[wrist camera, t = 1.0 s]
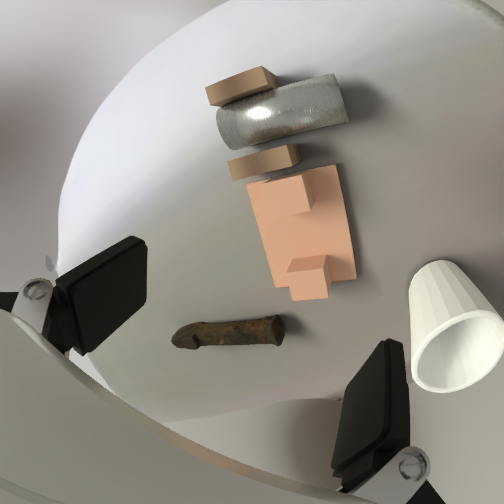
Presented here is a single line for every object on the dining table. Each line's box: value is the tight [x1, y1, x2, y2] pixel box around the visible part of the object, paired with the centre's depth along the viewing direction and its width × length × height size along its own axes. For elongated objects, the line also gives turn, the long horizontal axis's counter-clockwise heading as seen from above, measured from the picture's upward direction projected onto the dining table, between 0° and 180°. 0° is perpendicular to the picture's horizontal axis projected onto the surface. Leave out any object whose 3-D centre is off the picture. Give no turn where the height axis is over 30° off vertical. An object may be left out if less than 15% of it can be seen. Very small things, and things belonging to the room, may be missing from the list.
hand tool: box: [171, 315, 285, 350], centre depth 40 cm, size 19×4×5 cm, turn 108°
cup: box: [409, 260, 504, 393], centre depth 23 cm, size 10×10×13 cm
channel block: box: [205, 66, 301, 181], centre depth 26 cm, size 6×10×5 cm, turn 17°
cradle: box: [246, 164, 357, 301], centre depth 29 cm, size 10×13×4 cm
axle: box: [216, 73, 349, 150], centre depth 25 cm, size 12×5×5 cm, turn 107°
